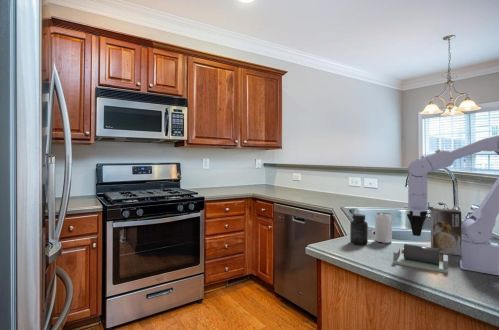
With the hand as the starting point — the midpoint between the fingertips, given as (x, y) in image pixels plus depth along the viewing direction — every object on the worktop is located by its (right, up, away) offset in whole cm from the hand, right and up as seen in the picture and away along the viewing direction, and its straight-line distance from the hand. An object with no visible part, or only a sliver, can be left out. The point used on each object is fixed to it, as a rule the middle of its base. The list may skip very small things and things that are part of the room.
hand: (417, 233), depth 100 cm
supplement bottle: (-12, -9, +21) cm, 26 cm away
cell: (-1, -9, -4) cm, 9 cm away
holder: (-1, -10, -4) cm, 10 cm away
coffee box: (+16, -10, +10) cm, 21 cm away
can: (-1, -9, +24) cm, 25 cm away
